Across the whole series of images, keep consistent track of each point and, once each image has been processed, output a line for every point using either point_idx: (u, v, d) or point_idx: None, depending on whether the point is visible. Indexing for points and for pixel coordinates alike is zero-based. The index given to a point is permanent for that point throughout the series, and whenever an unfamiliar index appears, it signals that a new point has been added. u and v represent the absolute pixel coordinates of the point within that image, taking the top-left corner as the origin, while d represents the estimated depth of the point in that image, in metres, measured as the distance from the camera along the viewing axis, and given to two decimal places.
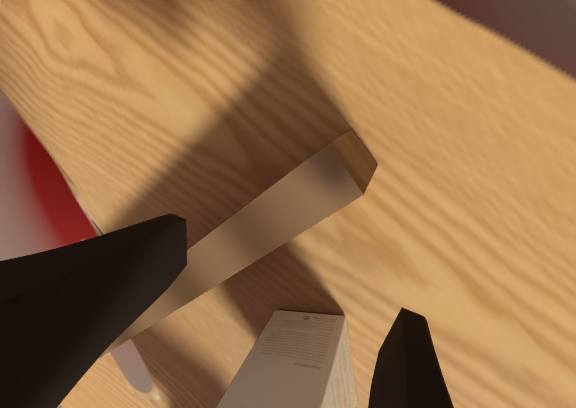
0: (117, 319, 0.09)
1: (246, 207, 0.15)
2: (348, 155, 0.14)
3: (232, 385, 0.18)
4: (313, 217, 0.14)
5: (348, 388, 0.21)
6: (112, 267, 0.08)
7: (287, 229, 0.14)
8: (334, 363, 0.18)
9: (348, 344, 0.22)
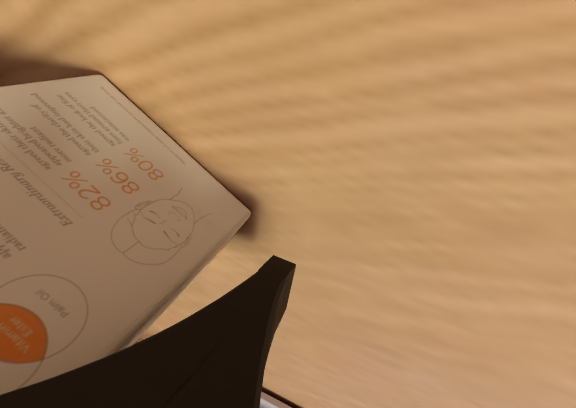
0: None
1: None
2: None
3: None
4: None
5: (157, 173, 0.10)
6: None
7: None
8: None
9: (139, 115, 0.12)
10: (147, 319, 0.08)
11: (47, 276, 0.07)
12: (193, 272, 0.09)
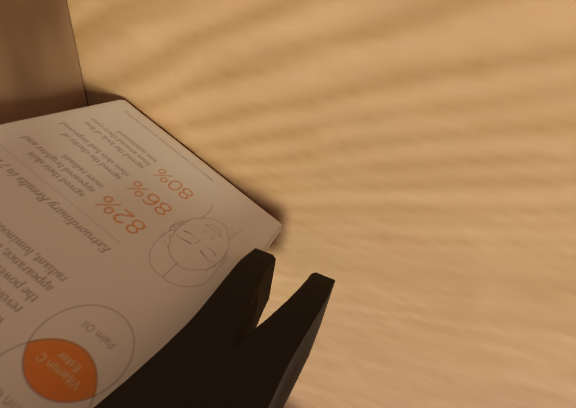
0: (280, 407, 0.08)
1: None
2: None
3: None
4: None
5: (186, 192, 0.10)
6: (296, 357, 0.07)
7: None
8: (14, 127, 0.08)
9: (163, 135, 0.12)
10: None
11: (91, 305, 0.07)
12: None
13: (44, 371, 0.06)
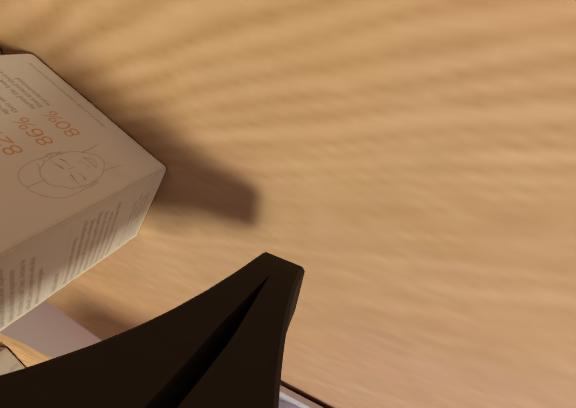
0: None
1: None
2: None
3: None
4: None
5: (73, 131, 0.12)
6: (231, 325, 0.07)
7: None
8: None
9: (64, 86, 0.13)
10: (42, 236, 0.09)
11: None
12: (95, 207, 0.11)
13: None
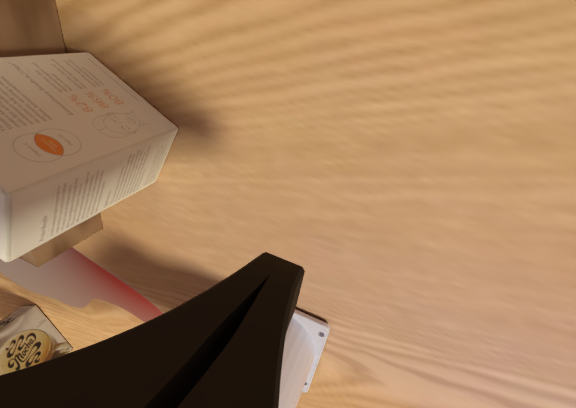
0: None
1: None
2: None
3: None
4: None
5: (119, 101, 0.19)
6: (231, 325, 0.07)
7: None
8: (28, 58, 0.17)
9: (111, 74, 0.20)
10: (109, 156, 0.16)
11: (62, 130, 0.15)
12: (136, 145, 0.18)
13: (42, 143, 0.14)
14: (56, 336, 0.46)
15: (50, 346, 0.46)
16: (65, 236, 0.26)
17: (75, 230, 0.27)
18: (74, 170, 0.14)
